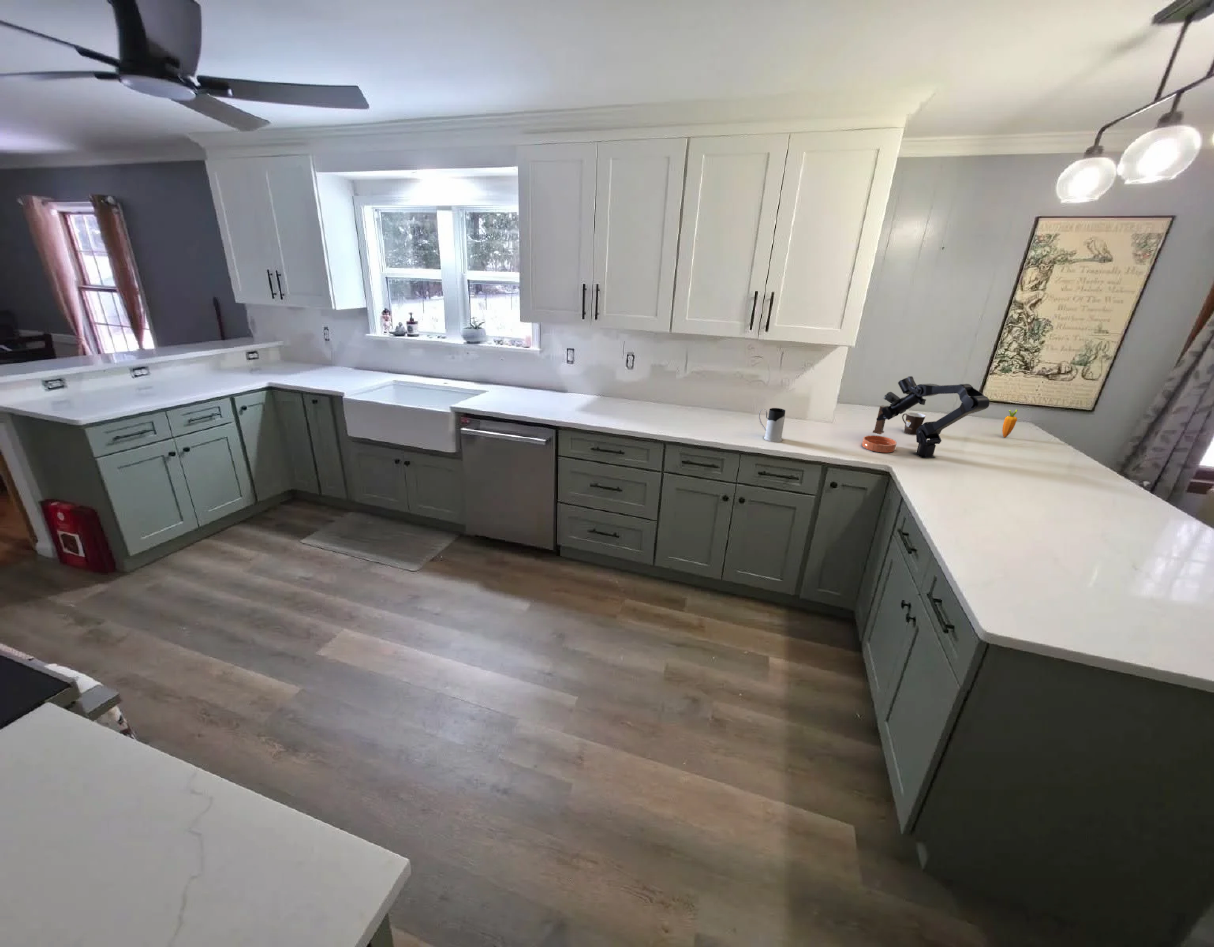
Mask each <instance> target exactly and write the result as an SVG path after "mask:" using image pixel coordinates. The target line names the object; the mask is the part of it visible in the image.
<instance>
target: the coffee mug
mask: <svg viewBox="0 0 1214 947" xmlns="http://www.w3.org/2000/svg"><path fill="white" fill-rule="evenodd" d="M926 416H927V415H926V414H924V413H921V412H913V411H909V412H906V413H902V414H901V419H902V421H903V423H904V428H903V429H904V430H903V432H904V434H906V435H910V436H916V430H917V429H918V428H919V427H918V426H921V425H923V424H924V422H925V419H926ZM904 417H905V419H904Z"/></svg>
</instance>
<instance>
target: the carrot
mask: <svg viewBox="0 0 1214 947" xmlns="http://www.w3.org/2000/svg"><path fill="white" fill-rule="evenodd" d="M1008 412H1009V415H1007V416H1006V417H1004V420H1003V423H1002V430H1001V431H1002V432H1001V433H1002V437H1003V438H1004V439H1006V438H1007V437H1008V436H1009V435H1010V434H1011V433H1012V431H1013V430H1014V428H1015V426H1016V423H1017V421H1018V418H1017V416H1015V415H1016V414H1017V412H1018V409H1015V410H1014V411H1013V412H1012V410H1011V409H1009V410H1008Z"/></svg>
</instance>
